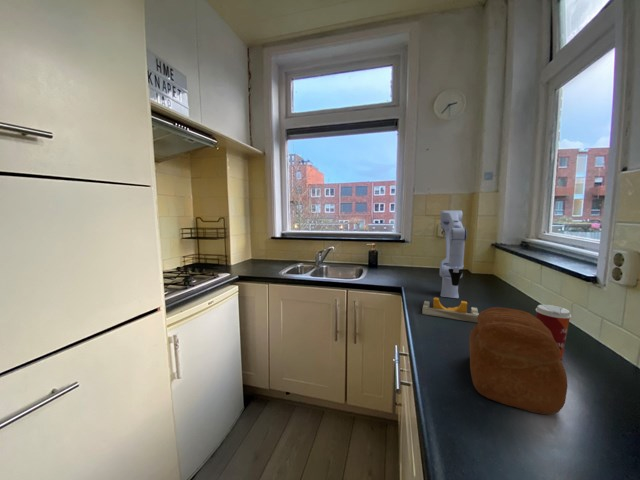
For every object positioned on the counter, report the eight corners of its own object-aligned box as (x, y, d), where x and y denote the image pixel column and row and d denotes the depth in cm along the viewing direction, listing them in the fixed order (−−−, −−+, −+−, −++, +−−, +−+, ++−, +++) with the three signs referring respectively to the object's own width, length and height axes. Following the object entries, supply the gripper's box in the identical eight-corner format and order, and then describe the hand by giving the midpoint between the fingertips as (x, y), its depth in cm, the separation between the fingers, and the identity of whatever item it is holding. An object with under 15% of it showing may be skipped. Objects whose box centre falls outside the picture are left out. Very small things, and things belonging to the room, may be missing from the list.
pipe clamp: (465, 315, 104) (466, 300, 104) (466, 319, 101) (467, 303, 100) (433, 310, 110) (434, 296, 109) (432, 314, 106) (433, 299, 105)
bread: (543, 369, 68) (549, 308, 66) (571, 428, 50) (580, 344, 48) (467, 352, 77) (471, 297, 75) (467, 396, 58) (471, 324, 57)
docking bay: (424, 306, 115) (424, 300, 114) (476, 313, 106) (476, 307, 106) (422, 313, 106) (422, 308, 106) (479, 322, 97) (479, 316, 97)
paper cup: (570, 365, 70) (575, 315, 68) (534, 357, 74) (538, 310, 72) (562, 352, 76) (567, 306, 75) (529, 345, 80) (533, 302, 79)
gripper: (446, 252, 121) (445, 280, 122) (445, 256, 108) (444, 288, 110) (464, 253, 118) (462, 282, 119) (465, 258, 105) (463, 290, 106)
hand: (454, 285), depth 114 cm, fingers closed
